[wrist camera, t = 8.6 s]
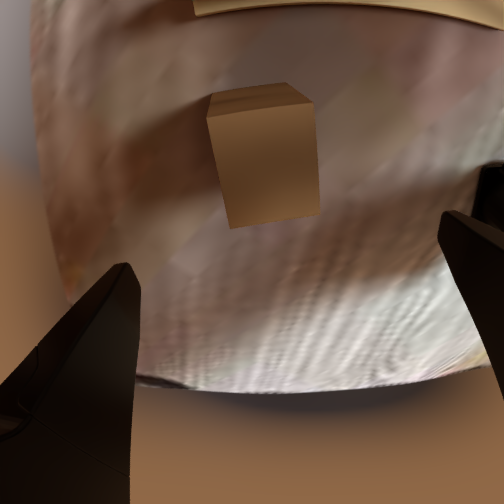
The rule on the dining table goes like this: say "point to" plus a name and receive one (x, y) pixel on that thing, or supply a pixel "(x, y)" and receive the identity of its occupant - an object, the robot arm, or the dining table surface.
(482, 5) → the board
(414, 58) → the dining table surface
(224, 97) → the block
